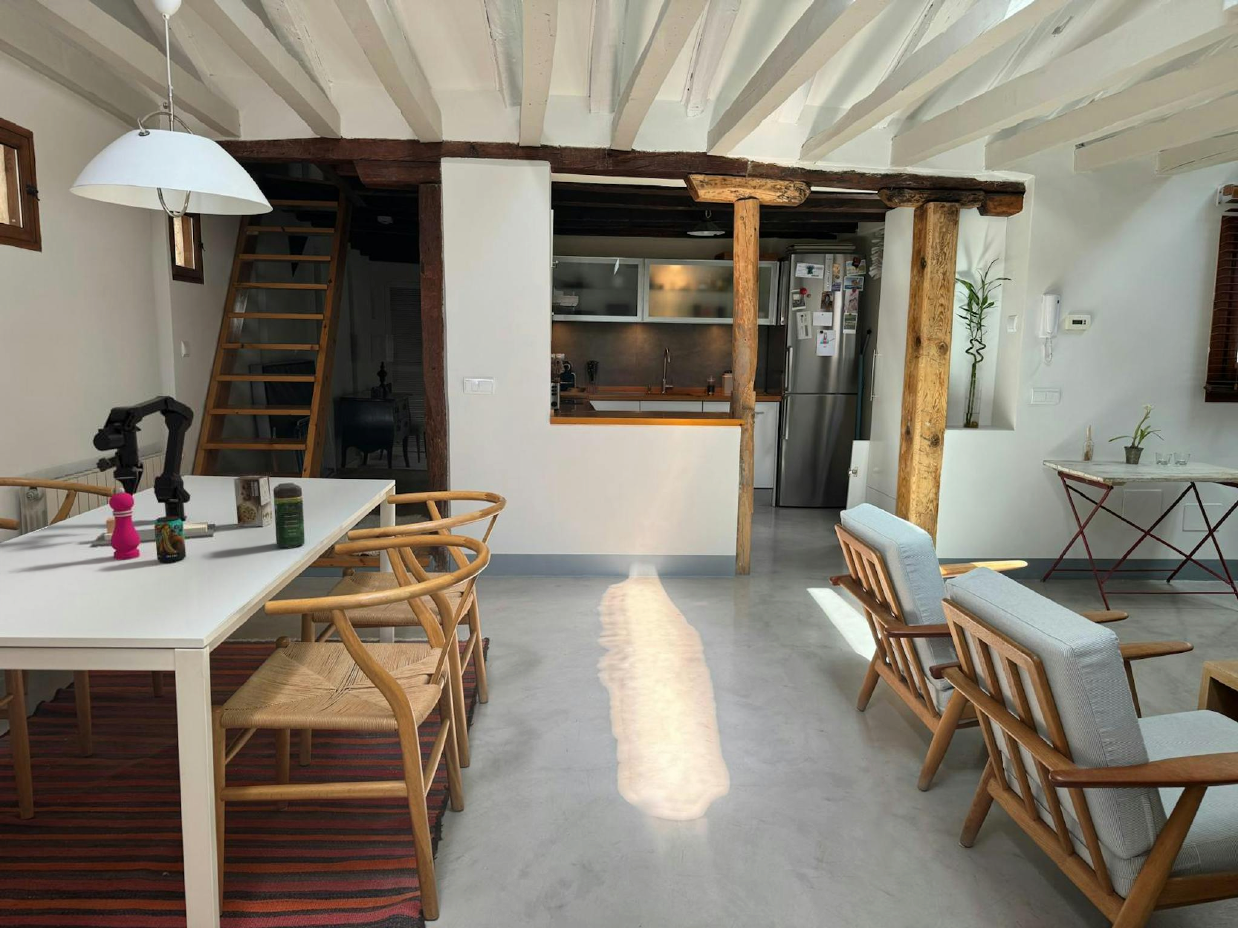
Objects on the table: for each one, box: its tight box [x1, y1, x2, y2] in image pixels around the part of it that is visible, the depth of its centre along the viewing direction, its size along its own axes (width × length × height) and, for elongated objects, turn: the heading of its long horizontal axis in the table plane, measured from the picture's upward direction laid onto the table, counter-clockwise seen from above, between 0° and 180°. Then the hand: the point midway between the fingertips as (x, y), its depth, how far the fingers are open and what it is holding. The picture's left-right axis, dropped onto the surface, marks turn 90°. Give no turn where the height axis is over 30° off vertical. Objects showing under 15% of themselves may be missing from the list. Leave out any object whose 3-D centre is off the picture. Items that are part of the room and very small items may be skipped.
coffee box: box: [233, 475, 273, 527], centre depth 267 cm, size 9×6×16 cm
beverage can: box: [153, 516, 187, 564], centre depth 224 cm, size 7×7×12 cm
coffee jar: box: [272, 482, 306, 549], centre depth 240 cm, size 10×8×19 cm
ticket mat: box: [92, 521, 216, 548], centre depth 252 cm, size 16×32×2 cm, turn 114°
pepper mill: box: [108, 487, 141, 561], centre depth 226 cm, size 7×7×20 cm
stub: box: [104, 517, 115, 540], centre depth 248 cm, size 8×6×6 cm
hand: (131, 495), depth 255 cm, fingers open, 9 cm apart
